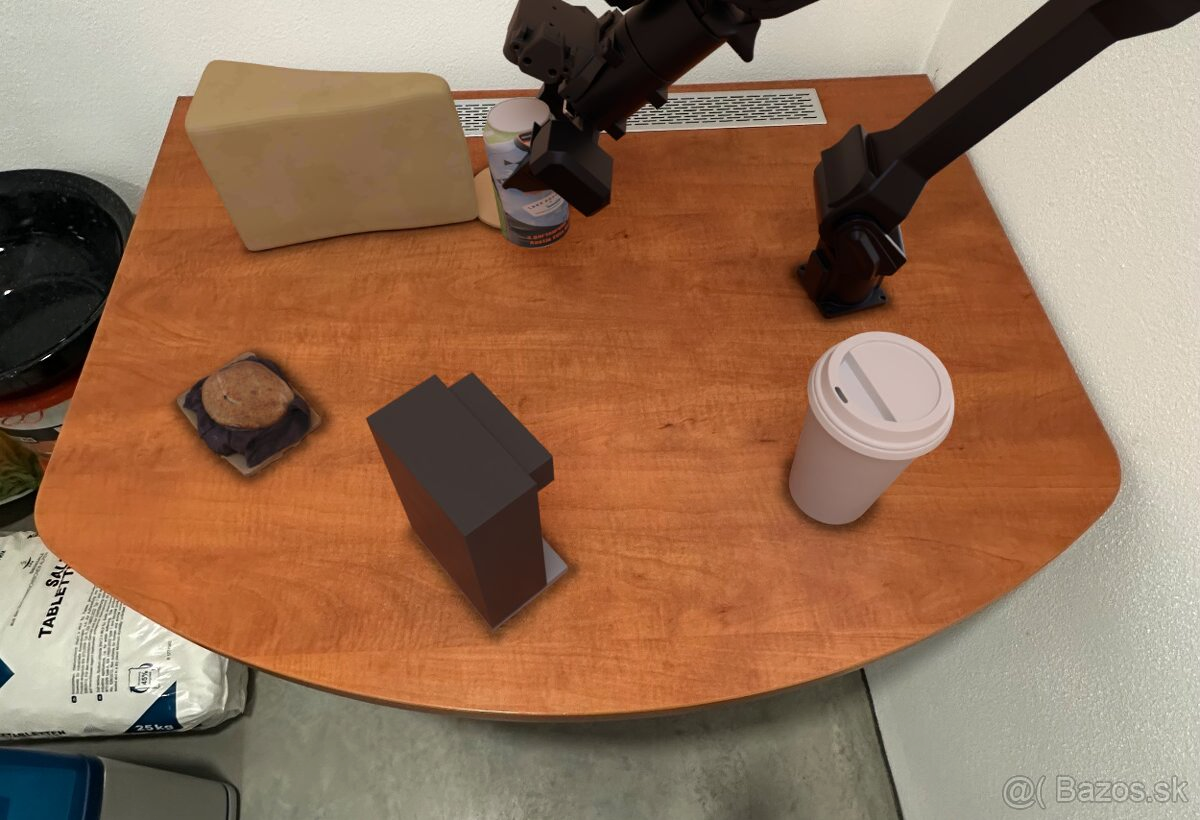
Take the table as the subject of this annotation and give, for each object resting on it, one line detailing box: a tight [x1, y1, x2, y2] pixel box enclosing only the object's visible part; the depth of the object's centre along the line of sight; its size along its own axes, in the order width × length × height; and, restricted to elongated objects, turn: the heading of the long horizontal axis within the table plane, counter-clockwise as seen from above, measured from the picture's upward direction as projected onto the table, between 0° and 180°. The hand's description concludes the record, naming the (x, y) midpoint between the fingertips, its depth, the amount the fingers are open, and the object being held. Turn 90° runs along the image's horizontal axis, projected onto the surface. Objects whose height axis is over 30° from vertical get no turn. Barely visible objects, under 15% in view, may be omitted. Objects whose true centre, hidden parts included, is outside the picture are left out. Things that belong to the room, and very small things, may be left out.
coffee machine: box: [365, 371, 569, 632], centre depth 53 cm, size 7×10×16 cm
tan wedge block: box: [184, 59, 479, 252], centre depth 73 cm, size 22×10×15 cm, turn 92°
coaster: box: [474, 166, 501, 230], centre depth 81 cm, size 10×10×1 cm
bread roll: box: [176, 351, 323, 478], centre depth 65 cm, size 11×8×4 cm
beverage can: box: [482, 96, 571, 250], centre depth 66 cm, size 6×7×12 cm
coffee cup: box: [788, 330, 955, 526], centre depth 58 cm, size 10×10×15 cm
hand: (510, 164), depth 66 cm, fingers closed on beverage can, 5 cm apart
